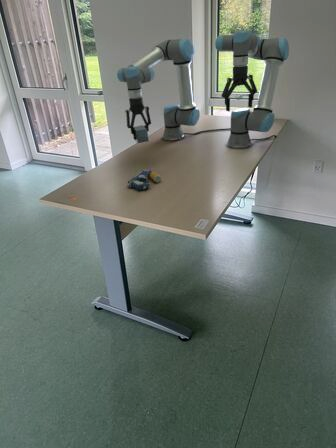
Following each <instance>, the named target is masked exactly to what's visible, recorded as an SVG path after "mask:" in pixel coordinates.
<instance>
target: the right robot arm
mask: <svg viewBox="0 0 336 448" xmlns="http://www.w3.org/2000/svg"><path fill="white" fill-rule="evenodd" d="M214 44H215V50H216V51H218V52H229V53H232V77H227V78H226V83H225V86H224V88H223V91H222V93H221V95H220V96H221V98H224V105H225V111H226V112H231V113H230V128H231V130H230V135H229V137H228V139H227V146H228V147H229V148H232V149H246V148H249V147H251V145H252V141H264V140H269V139H272V138H274V137H275V138H277V135H276V134H272V135H270V136H268V137H264V138H251V136H250V133H249V131H250V132H258V133H267V132H269V131H270V130H271V129H272V127H273V125H274V121H275V113H274V112H273V111H274V110H273V109H272V103H273V99H274V94H275V90H276V85H277V81H278V76H279V71H280V67H281V66H283V64H284V61H286V60H288V58H289V54H290V43H289V41H288V39H287V38H286V37H272V38H271V37H270V38H260V36H259V35H258V34H257V33H255V32H251V33H250V30H247V29H244V30H243V29H242V30H236V31H234V33H233V34H222V35H217V36H216V38H215V43H214ZM249 59H253V60H256V61H262V63H263V64H264V68H263V69H264V70H263V74H262V79H261V82H260V88H259V93H258V88H257V86H256V83H255V80H254V74H251V73H249V66H248V65H249ZM247 80H248V81H247ZM240 86H244V87H245V89H246V90H247V91H248V93H249V94H248V99H247V102H248V103H247V107H241V108H236V109H234V110H232V111H231V98H230V97H231V96H232V93H233V92H234V90H235V89H236V88H237V87H240ZM256 93H258V98H257V101H256V105H255V106H254V107H253V101H254V100H255V99H254V98H255V95H256ZM251 108H253V110H250V109H251Z"/></svg>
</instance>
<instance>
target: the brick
mask: <svg viewBox="0 0 336 448" xmlns="http://www.w3.org/2000/svg"><path fill="white" fill-rule="evenodd" d="M133 128H134V129H135V136H136V140H135V139H134V138H133V140H134V141H135V142H136V143H137V144H142V143H147V142H149V141H150V140H149V131H147V128H146V127H144V125H143V124H142V125H137V126H135V125H134V126H133Z"/></svg>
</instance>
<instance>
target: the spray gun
mask: <svg viewBox="0 0 336 448" xmlns="http://www.w3.org/2000/svg"><path fill="white" fill-rule="evenodd" d="M149 179H150V180H152V181H153V182H154V183H160V182H161V180H162V177H161V175H159V174H158V173H157V172H155V171H152V169H141V170H140V171H139V172H138V173H137V174H136V175H134V176H133V177H132V178H130V179H129V180H128V181H127V184H126V187H129V188H134V189H135V190H138V191H141V190H142V191H143V190H147V189H148V188H149V187H150V182H149Z"/></svg>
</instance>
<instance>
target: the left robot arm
mask: <svg viewBox="0 0 336 448" xmlns="http://www.w3.org/2000/svg"><path fill="white" fill-rule="evenodd" d="M194 57H195V46H194V44H193V42H192V41H191V40H190V39H189V38H176V39H166V40H164V41H161V42H160V43H158V44H157V45H155V46H153V47H152V48H151V50H150V51H149V52H147V53H146V54H145V55H143V56H142V57H140V58H138V59H137V60H136V61H134V62H132V63H131V64H130V65H128V66H127V67H120V68H119V69H118V70H117V72H116V76H117V79H118V80H117V81H119V82H120V83H126V88H127V94H128V103H129V108H128V109H125V110H124V112H125V115H126V127H127V128H128V129H130V134H131V135H132V137H133V140H134V139H135V140H136V136H135V129H134V128H133V127H135V120H136V116H138V115H139V116H140V117H141V119H142V121H143V122H144V125H143V126H144V127H146V128H147V132H149V131H150V128H149V126H150V125H151V124H152V120H151V115H150V107H149V106H145V105H144V99H143V93H142V92H143V91H142V85H143V84H146V83H150V82H152V81H153V80H154V79H155V71H154V69H153V68H152V67H153V66H155V65H157V64H161V63H163V62H165V61H172V64H173V66H174V67H175V69H176V76H177V85H178V93H179V94H178V95H179V102H180V104H171V105H166V106H165V107H164V108H163V121H164V130H163V135H162V139H163V140H164V141H167V142H176V141H180V140H182V139H184V137H185V135H189V136H193V135H198V134H201V133H206V132H215V131H228V130H230V131H231V127H230V128H229V127H228V128H227V127H226V128H216V129H207V130H200V131H197V132H194V133H192V132H191V133H189V132H183V129H182V126H188V127H195V126H196V125H197V124H198V122H199V120H200V117H201V112H200V110H199V108H197V107H196V103H194V99H193V90H192V87H193V86H192V78H191V77H192V76H191V67H190V66H191V63H192V62H193V61H192V60H193V59H194ZM144 111H145V114H146V115H145V114H144V113H143V112H144ZM130 113H132V114H131V117H130ZM130 118H131V119H130ZM135 140H134V141H135Z"/></svg>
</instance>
